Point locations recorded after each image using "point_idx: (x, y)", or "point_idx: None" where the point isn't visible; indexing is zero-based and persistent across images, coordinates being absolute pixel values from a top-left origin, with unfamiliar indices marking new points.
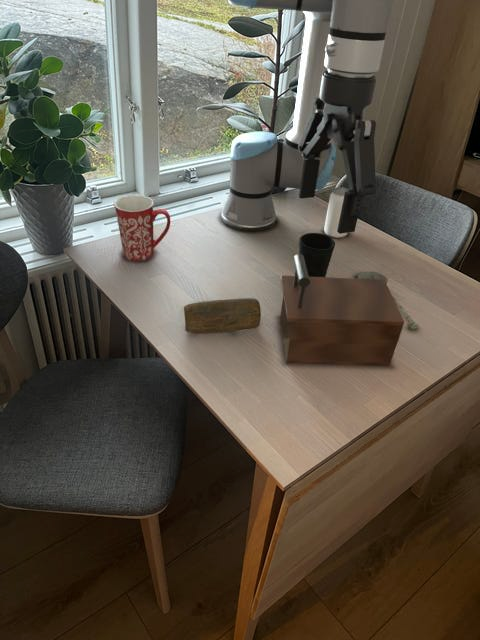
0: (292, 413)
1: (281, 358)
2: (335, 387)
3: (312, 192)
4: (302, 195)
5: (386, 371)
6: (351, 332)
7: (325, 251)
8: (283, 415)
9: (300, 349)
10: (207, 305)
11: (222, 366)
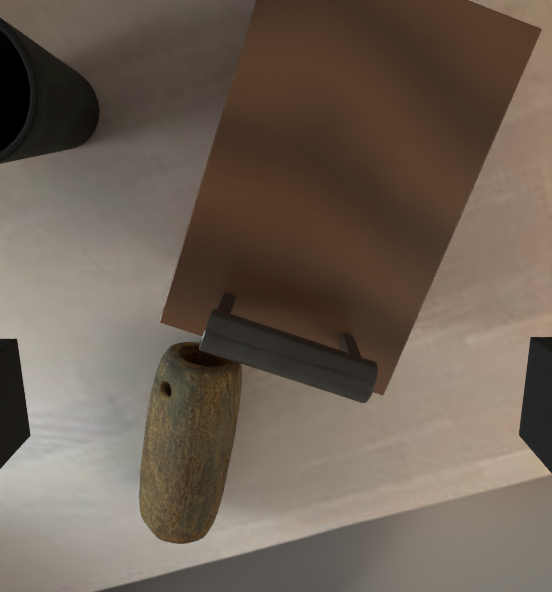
0: (505, 373)
1: None
2: (476, 248)
3: (2, 373)
4: (18, 436)
5: None
6: None
7: (41, 87)
8: (502, 392)
9: None
10: (185, 503)
11: (325, 457)
